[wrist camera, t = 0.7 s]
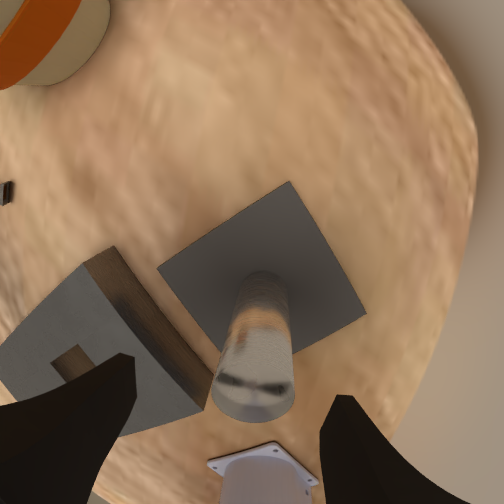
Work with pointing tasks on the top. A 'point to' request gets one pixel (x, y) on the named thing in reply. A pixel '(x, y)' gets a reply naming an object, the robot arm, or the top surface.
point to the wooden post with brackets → (4, 193)
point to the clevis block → (106, 344)
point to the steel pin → (257, 353)
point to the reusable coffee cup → (48, 38)
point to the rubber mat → (265, 259)
